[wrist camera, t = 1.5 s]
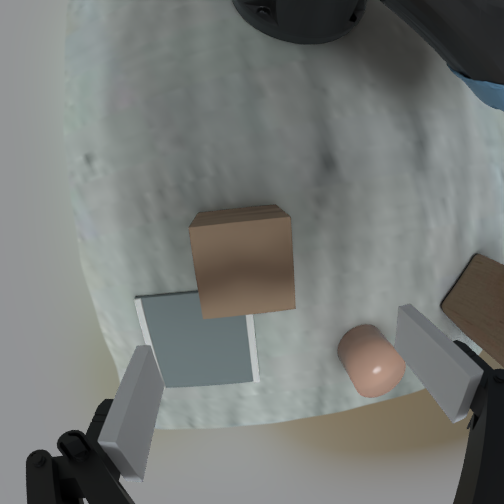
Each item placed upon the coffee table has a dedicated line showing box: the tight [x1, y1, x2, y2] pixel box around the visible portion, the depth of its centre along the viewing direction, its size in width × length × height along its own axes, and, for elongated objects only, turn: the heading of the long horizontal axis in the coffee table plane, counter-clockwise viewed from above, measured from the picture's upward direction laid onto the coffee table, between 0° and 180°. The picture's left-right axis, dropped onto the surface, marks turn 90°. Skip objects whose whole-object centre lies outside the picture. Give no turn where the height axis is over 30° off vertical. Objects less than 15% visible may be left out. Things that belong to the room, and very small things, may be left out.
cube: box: [189, 204, 296, 319], centre depth 29 cm, size 8×8×8 cm
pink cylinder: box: [338, 324, 405, 398], centre depth 34 cm, size 6×6×7 cm
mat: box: [134, 291, 260, 389], centre depth 35 cm, size 13×13×1 cm
